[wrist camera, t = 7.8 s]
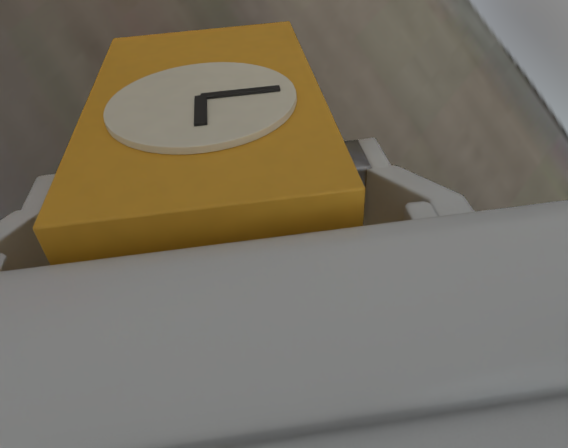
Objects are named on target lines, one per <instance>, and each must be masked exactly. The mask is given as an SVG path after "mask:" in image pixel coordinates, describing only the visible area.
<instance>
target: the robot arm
mask: <svg viewBox="0 0 568 448" xmlns="http://www.w3.org/2000/svg"><path fill="white" fill-rule="evenodd" d="M344 143H345V145H346V147H347V149H348V151H349V154H350V156H351V158H352V160H353V162H354V165H355V167H356V169H357V171H358V173H359V176H360V178H361V180H362V182H363V184H364V186H365V203H364V219H363V224H364V226H358V227H350V228H342V229H334V230H326V231H318V232H310V233H302V234H294V235H286V236H279V237H271V238H263V239H255V240H247V241H239V242H231V243H223V244H215V245H207V246H199V247H191V248H183V249H176V250H168V251H160V252H152V253H144V254H136V255H128V256H120V257H112V258H104V259H96V260H88V261H80V262H72V263H64V264H56V265H50V263H49V261H48V259H47V257H46V255H45V253H44V251H43V249H42V247H41V245H40V243H39V241H38V239H37V237H36V235H35V233H34V231H33V226H34V223H35V221H36V219H37V216H38V214H39V212H40V209H41V207H42V205H43V202H44V200H45V197H46V195H47V193H48V190H49V188H50V186H51V183H52V181H53V179H54V176H55V174H50V175H43V176H39V177H37V178H36V180H35V182H34V184H33V186H32V188H31V190H30V192H29V194H28V197H27V199H26V201H25V203H24V205H23V207H22V209H21V210H16V211H14V212H12V213H11V214H9V215H8V216H6V217H5V218H3V219H2V220H0V448H568V200H564V201H556V202H548V203H540V204H532V205H524V206H516V207H508V208H500V209H492V210H484V211H476V212H475V211H474V210H473V208H472V207H471V205H470V204H469V202H468V201H467V200H466V198H465V197H464V195H462V194H459V193H457V192H455V191H453V190H450V189H448V188H446V187H444V186H441V185H439V184H437V183H435V182H432V181H430V180H428V179H426V178H424V177H421V176H419V175H417V174H415V173H412V172H410V171H408V170H406V169H403V168H401V167H399V166H397V165H396V166H391V164H390V162H389V161H388V159H387V157H386V155H385V154H384V152H383V150H382V148H381V147H380V145H379V143H378V141H377V140H376V138H374V137H372V138H366V139H360V140H352V141H345V142H344Z"/></svg>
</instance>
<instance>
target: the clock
mask: <svg viewBox="0 0 568 448" xmlns="http://www.w3.org/2000/svg"><path fill="white" fill-rule="evenodd" d="M364 203H365V186H364V184H363V182H362V180H361V178H360V176H359V173H358V171H357V169H356V167H355V165H354V162H353V160H352V158H351V156H350V154H349V151H348V149H347V147H346V145H345V143H344V140H343V138H342V136H341V134H340V132H339V129H338V127H337V125H336V123H335V121H334V118H333V116H332V114H331V112H330V110H329V107H328V105H327V103H326V101H325V99H324V96H323V94H322V92H321V90H320V88H319V85H318V83H317V81H316V79H315V77H314V74H313V72H312V70H311V68H310V66H309V63H308V61H307V59H306V57H305V55H304V52H303V50H302V48H301V46H300V44H299V41H298V39H297V37H296V35H295V33H294V30H293V28H292V26H291V24H290V22H289V21H286V22H276V23H266V24H255V25H245V26H235V27H225V28H214V29H204V30H194V31H184V32H173V33H163V34H153V35H143V36H132V37H122V38H114V39H113V40H112V43H111V45H110V47H109V50H108V52H107V54H106V57H105V59H104V61H103V64H102V66H101V69H100V71H99V73H98V76H97V78H96V80H95V83H94V85H93V87H92V90H91V92H90V94H89V97H88V99H87V101H86V104H85V106H84V108H83V111H82V113H81V115H80V118H79V120H78V122H77V125H76V127H75V129H74V132H73V134H72V137H71V139H70V141H69V144H68V146H67V148H66V151H65V153H64V155H63V158H62V160H61V162H60V165H59V167H58V169H57V172H56V174H55V176H54V179H53V181H52V183H51V186H50V188H49V190H48V193H47V195H46V197H45V200H44V202H43V205H42V207H41V209H40V212H39V214H38V216H37V219H36V221H35V223H34V226H33V231H34V233H35V235H36V237H37V239H38V241H39V243H40V245H41V247H42V249H43V251H44V253H45V255H46V257H47V259H48V261H49V263H50V265H56V264H64V263H72V262H80V261H88V260H96V259H104V258H112V257H120V256H128V255H136V254H144V253H152V252H160V251H168V250H176V249H183V248H191V247H199V246H207V245H215V244H223V243H231V242H239V241H247V240H255V239H263V238H271V237H279V236H286V235H294V234H302V233H310V232H318V231H326V230H334V229H342V228H350V227H358V226H363V219H364Z"/></svg>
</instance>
